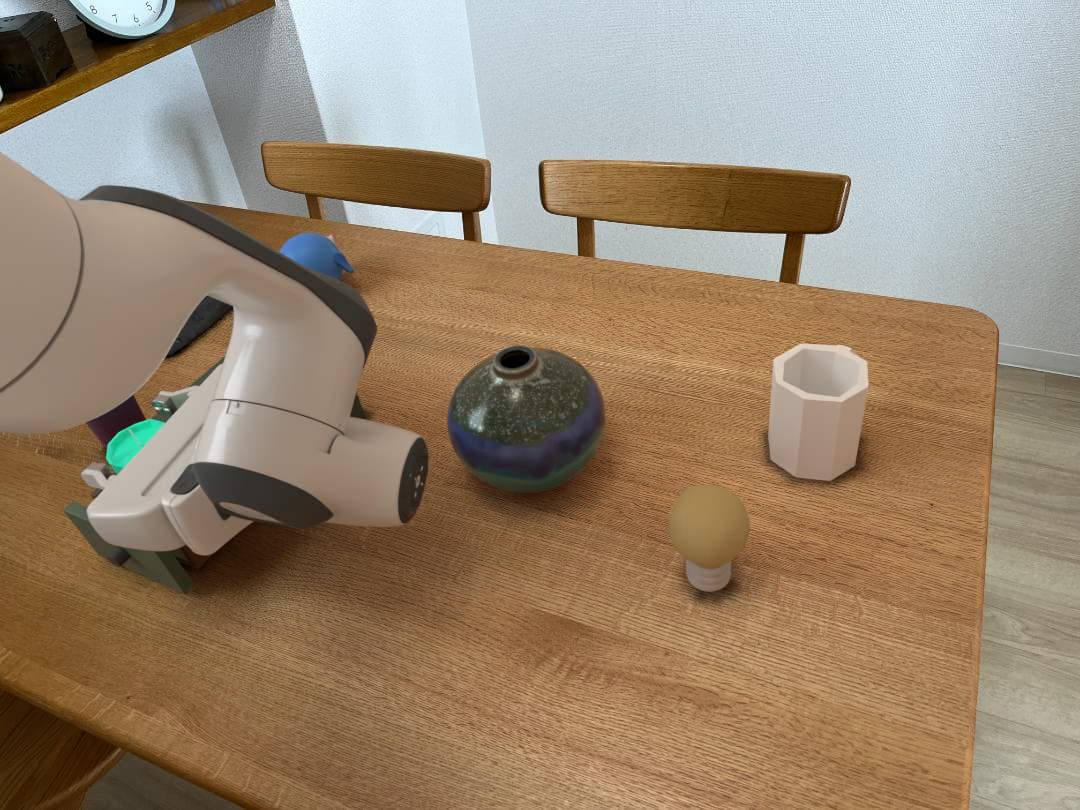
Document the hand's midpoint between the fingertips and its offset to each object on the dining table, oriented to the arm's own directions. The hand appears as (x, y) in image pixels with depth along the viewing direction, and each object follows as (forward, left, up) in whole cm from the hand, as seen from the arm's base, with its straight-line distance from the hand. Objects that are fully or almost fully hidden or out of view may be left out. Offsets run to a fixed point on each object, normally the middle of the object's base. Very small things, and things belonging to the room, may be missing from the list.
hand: (125, 436), depth 73 cm
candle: (+1, 0, -11) cm, 11 cm away
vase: (+35, +10, -13) cm, 38 cm away
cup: (-13, +13, -13) cm, 23 cm away
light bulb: (+52, -4, -13) cm, 54 cm away
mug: (+63, +13, -13) cm, 65 cm away
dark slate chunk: (-20, +40, -13) cm, 46 cm away
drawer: (+1, 0, -12) cm, 12 cm away
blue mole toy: (0, +45, -13) cm, 46 cm away
